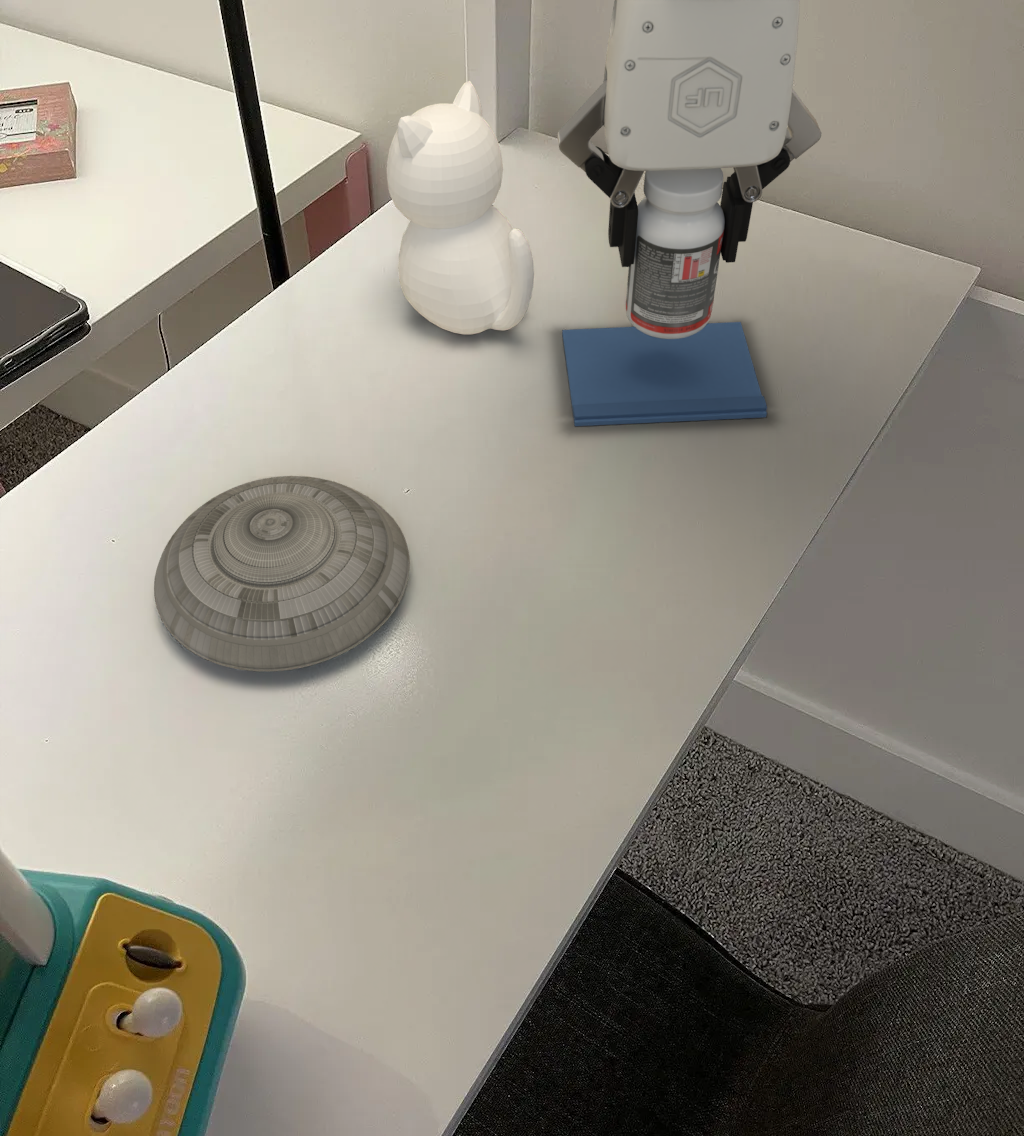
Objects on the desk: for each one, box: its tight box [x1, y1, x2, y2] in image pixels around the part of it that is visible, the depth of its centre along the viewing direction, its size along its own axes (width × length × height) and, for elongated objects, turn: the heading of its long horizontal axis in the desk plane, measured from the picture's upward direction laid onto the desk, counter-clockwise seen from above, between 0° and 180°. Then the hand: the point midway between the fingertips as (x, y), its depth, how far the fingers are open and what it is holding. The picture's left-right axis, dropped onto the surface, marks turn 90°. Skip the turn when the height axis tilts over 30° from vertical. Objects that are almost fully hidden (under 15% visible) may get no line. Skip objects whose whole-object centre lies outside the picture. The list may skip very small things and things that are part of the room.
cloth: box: [561, 321, 768, 427], centre depth 79 cm, size 13×10×1 cm
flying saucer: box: [153, 475, 411, 672], centre depth 66 cm, size 15×15×6 cm
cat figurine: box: [386, 80, 535, 335], centre depth 77 cm, size 9×12×15 cm
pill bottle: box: [625, 168, 725, 339], centre depth 71 cm, size 6×6×10 cm
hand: (675, 249), depth 71 cm, fingers closed on pill bottle, 5 cm apart
